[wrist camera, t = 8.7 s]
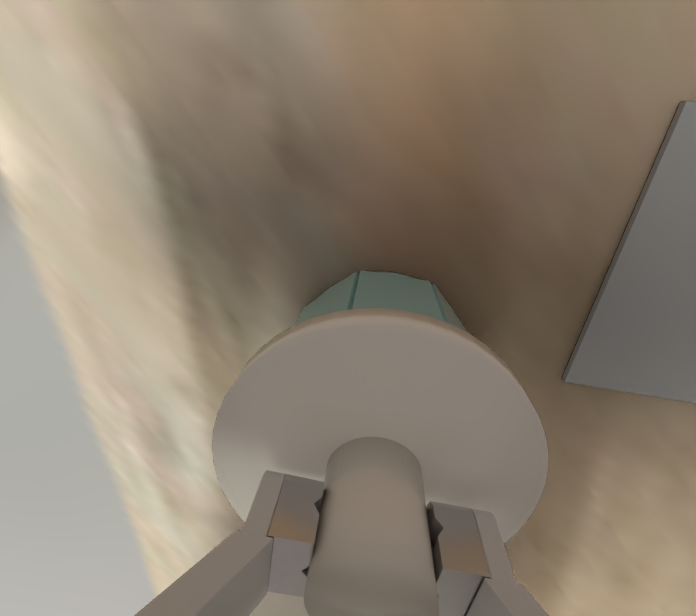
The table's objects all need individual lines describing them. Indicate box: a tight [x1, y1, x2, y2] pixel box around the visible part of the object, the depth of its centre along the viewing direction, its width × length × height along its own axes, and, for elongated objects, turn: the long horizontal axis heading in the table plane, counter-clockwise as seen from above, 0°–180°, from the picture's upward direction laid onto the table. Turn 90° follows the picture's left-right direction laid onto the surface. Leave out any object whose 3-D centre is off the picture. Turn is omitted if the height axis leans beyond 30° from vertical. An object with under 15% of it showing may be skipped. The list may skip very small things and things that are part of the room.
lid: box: [212, 308, 548, 616], centre depth 9 cm, size 9×9×4 cm
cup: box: [295, 270, 468, 333], centre depth 16 cm, size 8×8×5 cm
